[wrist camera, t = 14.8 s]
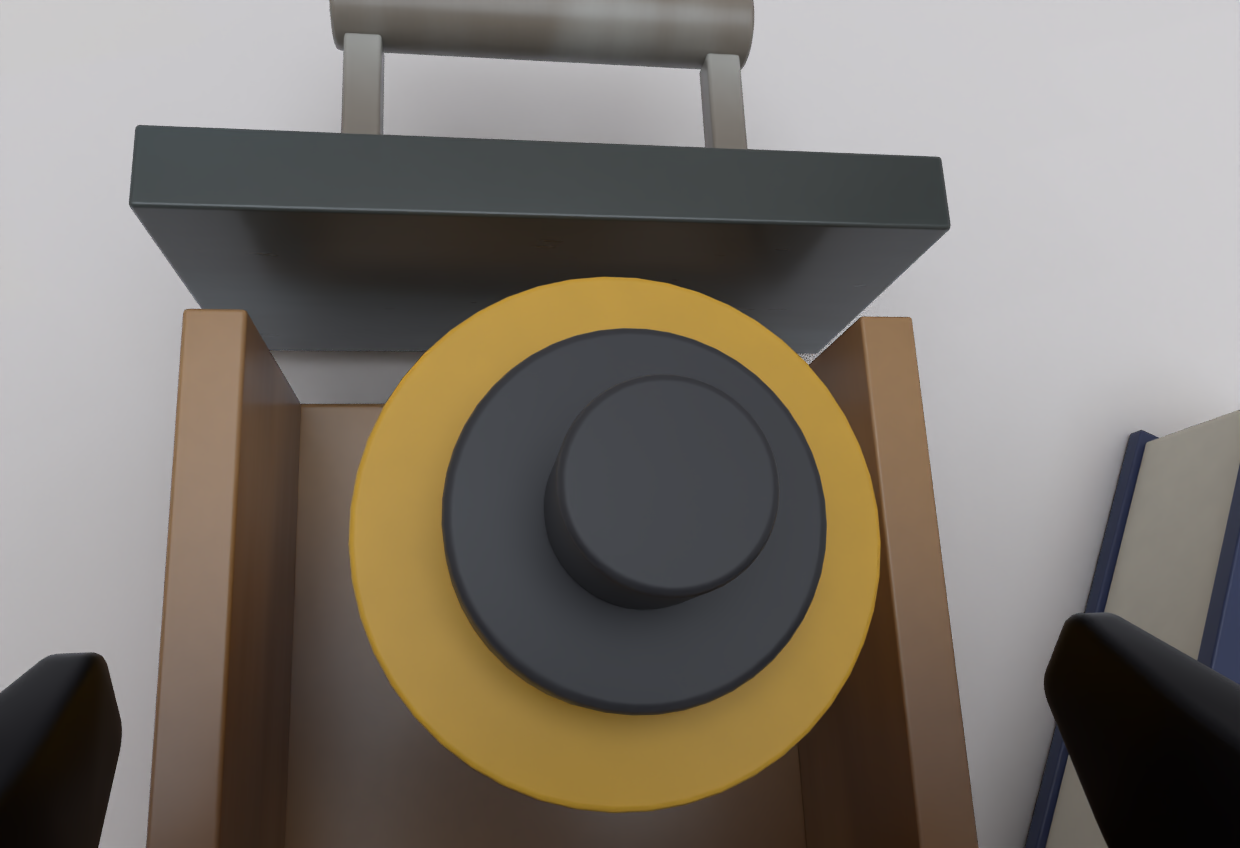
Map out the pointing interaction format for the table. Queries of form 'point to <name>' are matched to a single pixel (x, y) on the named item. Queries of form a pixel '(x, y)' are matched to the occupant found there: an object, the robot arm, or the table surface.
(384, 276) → the drawer
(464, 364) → the glue bottle
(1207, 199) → the table surface
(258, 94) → the table surface
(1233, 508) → the book
